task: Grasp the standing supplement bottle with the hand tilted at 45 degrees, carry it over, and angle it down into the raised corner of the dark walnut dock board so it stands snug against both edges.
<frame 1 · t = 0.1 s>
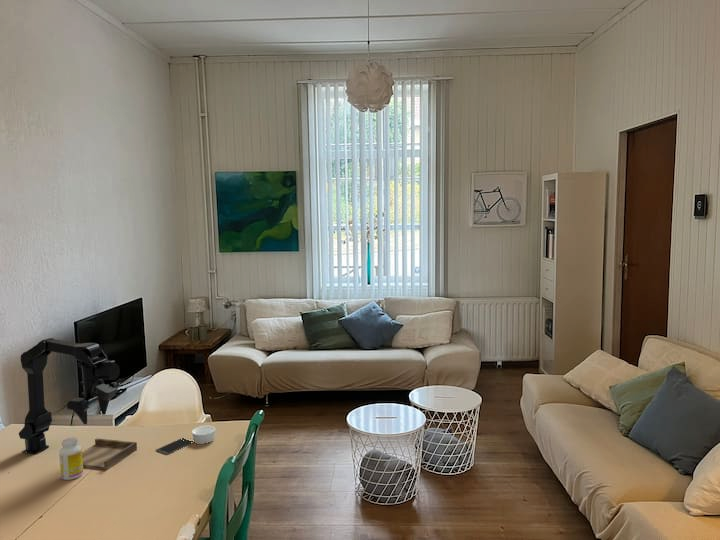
hand: (94, 419, 187), 15 cm above the table, tool pointing down, fingers open, 9 cm apart
ramekin: (204, 440, 202), on the table
supplement bottle: (72, 476, 175), on the table
cell phone: (176, 447, 197), on the table
dock board: (101, 457, 188), on the table
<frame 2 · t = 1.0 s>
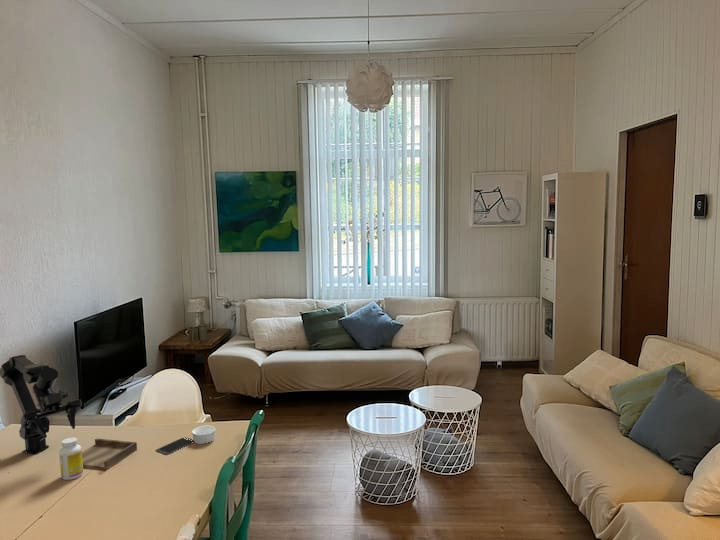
hand: (60, 432, 179), 13 cm above the table, tool tilted 45°, fingers open, 9 cm apart
nothing on the table moved.
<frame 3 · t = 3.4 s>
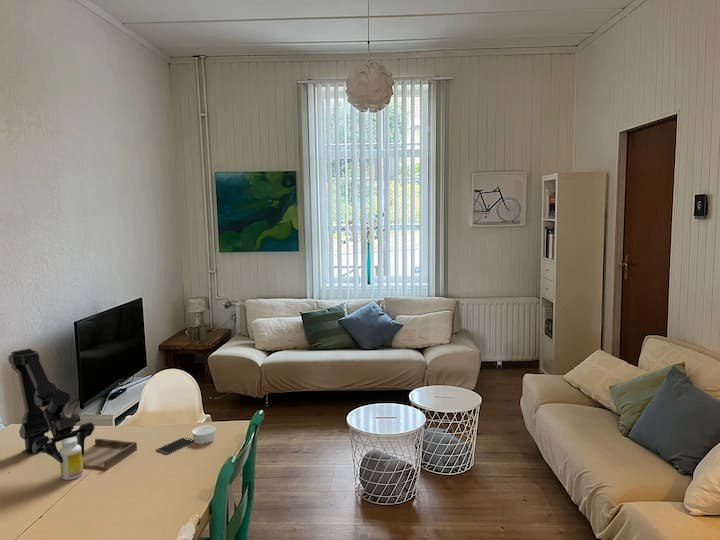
hand: (72, 458, 173), 7 cm above the table, tool tilted 45°, fingers closed on supplement bottle, 7 cm apart
supplement bottle: (72, 476, 175), on the table, touching gripper
everything else where it was.
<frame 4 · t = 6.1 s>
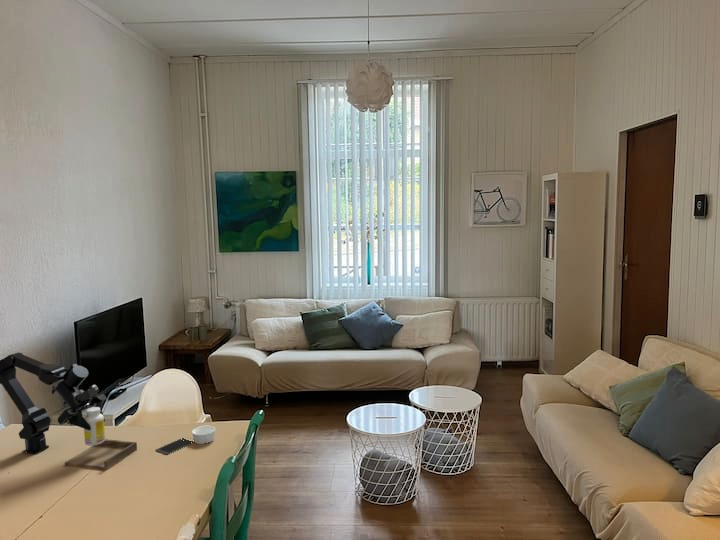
hand: (97, 425, 187), 12 cm above the table, tool tilted 45°, fingers closed on supplement bottle, 7 cm apart
supplement bottle: (95, 443, 188), point 5 cm above the table, touching gripper
everything else where it was.
when the fingers open (9 cm above the table, at t = 8.7 s): supplement bottle stays where it is, resting on dock board.
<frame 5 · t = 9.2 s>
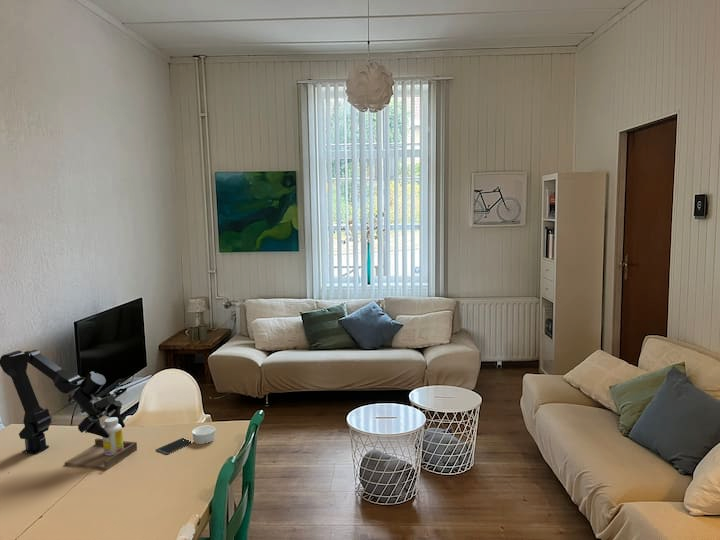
hand: (116, 432, 189), 9 cm above the table, tool tilted 45°, fingers open, 9 cm apart
supplement bottle: (114, 452, 190), point 1 cm above the table, touching dock board
everything else where it was.
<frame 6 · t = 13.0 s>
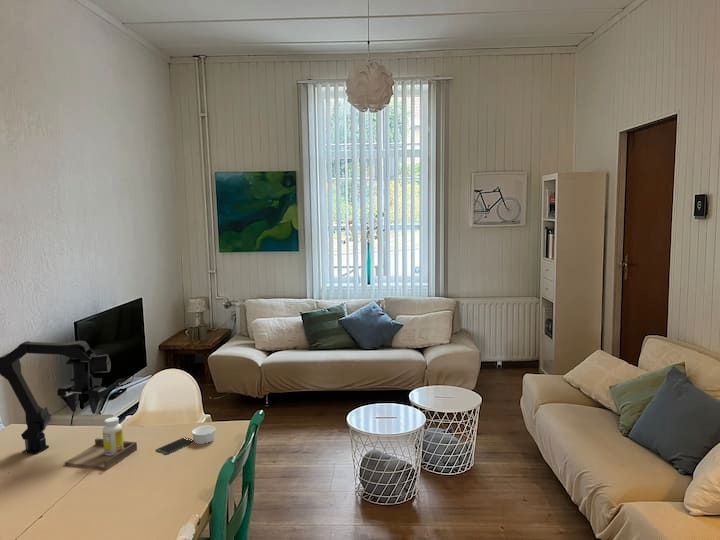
hand: (84, 412, 198), 13 cm above the table, tool pointing down, fingers open, 9 cm apart
nothing on the table moved.
at the end: supplement bottle 1.3 cm from the target spot on the dock board, point 0.8 cm above the dock board's base; supplement bottle tilted 0°; the gripper is holding nothing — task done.
